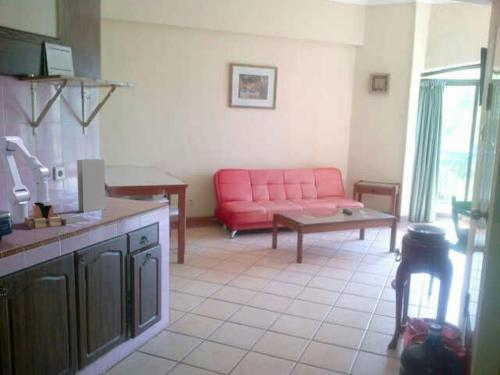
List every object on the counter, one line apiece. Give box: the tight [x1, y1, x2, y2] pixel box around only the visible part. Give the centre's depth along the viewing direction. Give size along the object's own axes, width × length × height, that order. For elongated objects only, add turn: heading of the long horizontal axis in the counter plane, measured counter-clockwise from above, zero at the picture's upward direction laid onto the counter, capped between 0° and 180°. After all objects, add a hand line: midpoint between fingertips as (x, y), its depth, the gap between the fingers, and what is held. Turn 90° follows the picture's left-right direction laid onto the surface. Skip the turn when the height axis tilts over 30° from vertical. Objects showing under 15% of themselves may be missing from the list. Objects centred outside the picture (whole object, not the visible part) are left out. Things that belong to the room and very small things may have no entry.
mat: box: [63, 215, 90, 225], centre depth 240 cm, size 14×12×1 cm
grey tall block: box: [76, 158, 106, 213], centre depth 265 cm, size 14×6×30 cm, turn 141°
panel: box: [32, 203, 54, 222], centre depth 230 cm, size 3×9×9 cm, turn 128°
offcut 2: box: [49, 216, 62, 227], centre depth 226 cm, size 3×5×4 cm, turn 128°
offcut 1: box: [32, 218, 46, 229], centre depth 222 cm, size 3×5×4 cm, turn 127°
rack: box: [24, 213, 67, 230], centre depth 228 cm, size 15×16×4 cm
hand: (43, 217), depth 230 cm, fingers open, 7 cm apart
